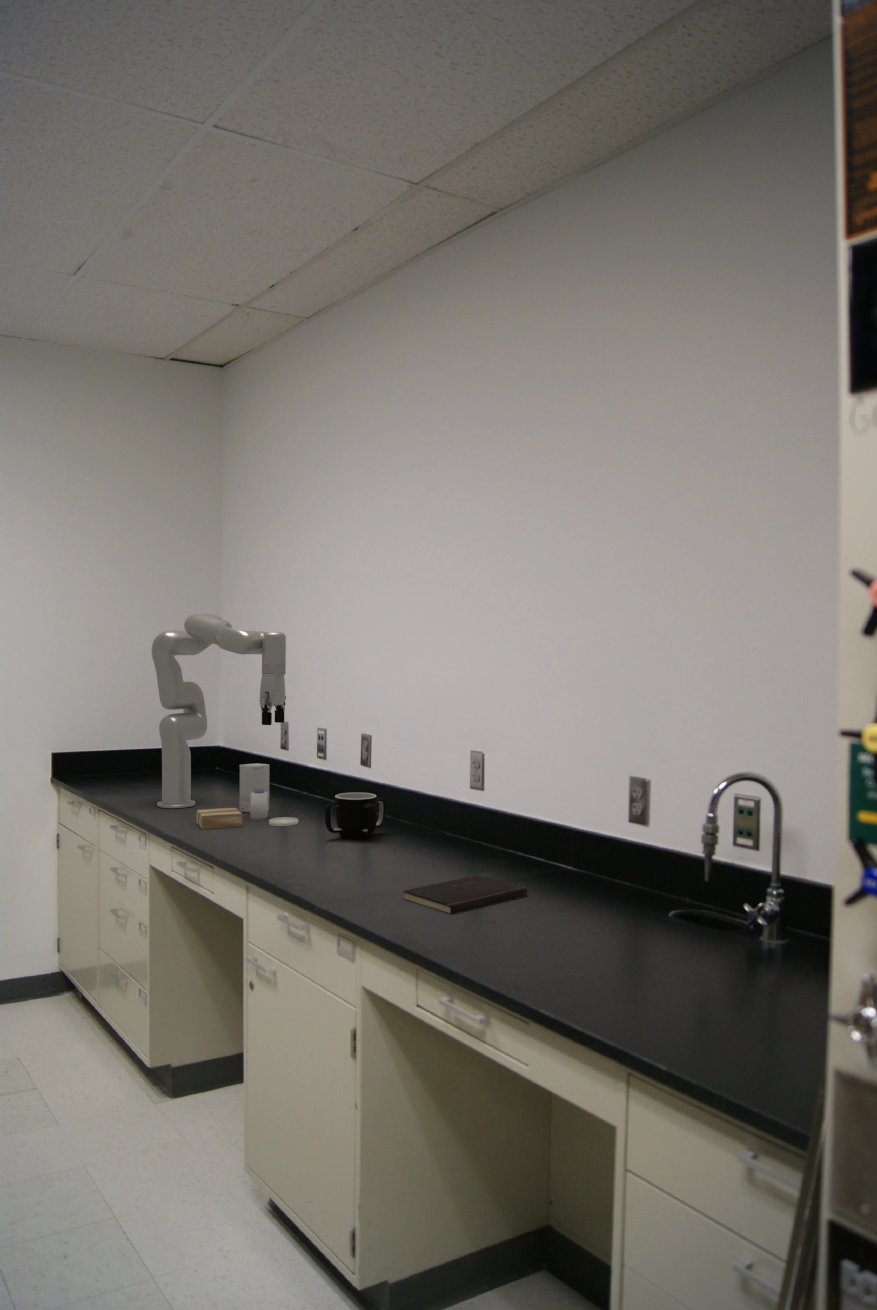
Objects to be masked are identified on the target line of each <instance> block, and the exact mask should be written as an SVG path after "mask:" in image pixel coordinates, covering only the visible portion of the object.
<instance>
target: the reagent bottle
mask: <svg viewBox="0 0 877 1310" xmlns="http://www.w3.org/2000/svg"><path fill="white" fill-rule="evenodd" d="M268 815H269V810H268V792H264V789H263V788H256V789H254V792H251V813H250V819H253V820H264V819H265V820H266V819H268V818H269V817H268Z"/></svg>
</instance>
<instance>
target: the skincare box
mask: <svg viewBox="0 0 877 1310" xmlns="http://www.w3.org/2000/svg"><path fill="white" fill-rule="evenodd" d="M256 788H263V789H264V792H268V811H270V764H267V763H257V762H256V763H247V764H246V763H245V764H239V809H238V810H239V811H240V812H241V813H248V814H251V792H254V789H256Z"/></svg>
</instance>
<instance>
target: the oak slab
mask: <svg viewBox="0 0 877 1310" xmlns="http://www.w3.org/2000/svg"><path fill="white" fill-rule="evenodd" d="M196 824H197V825H198V826H199V827H200V828H201V830H212V829H214V830H216V829H227V828H228V829H230V828H243V812H241V811H239V809H238V808H237V807H222V808H221V807H220V808H205V809H204V808H203V809H196Z"/></svg>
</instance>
